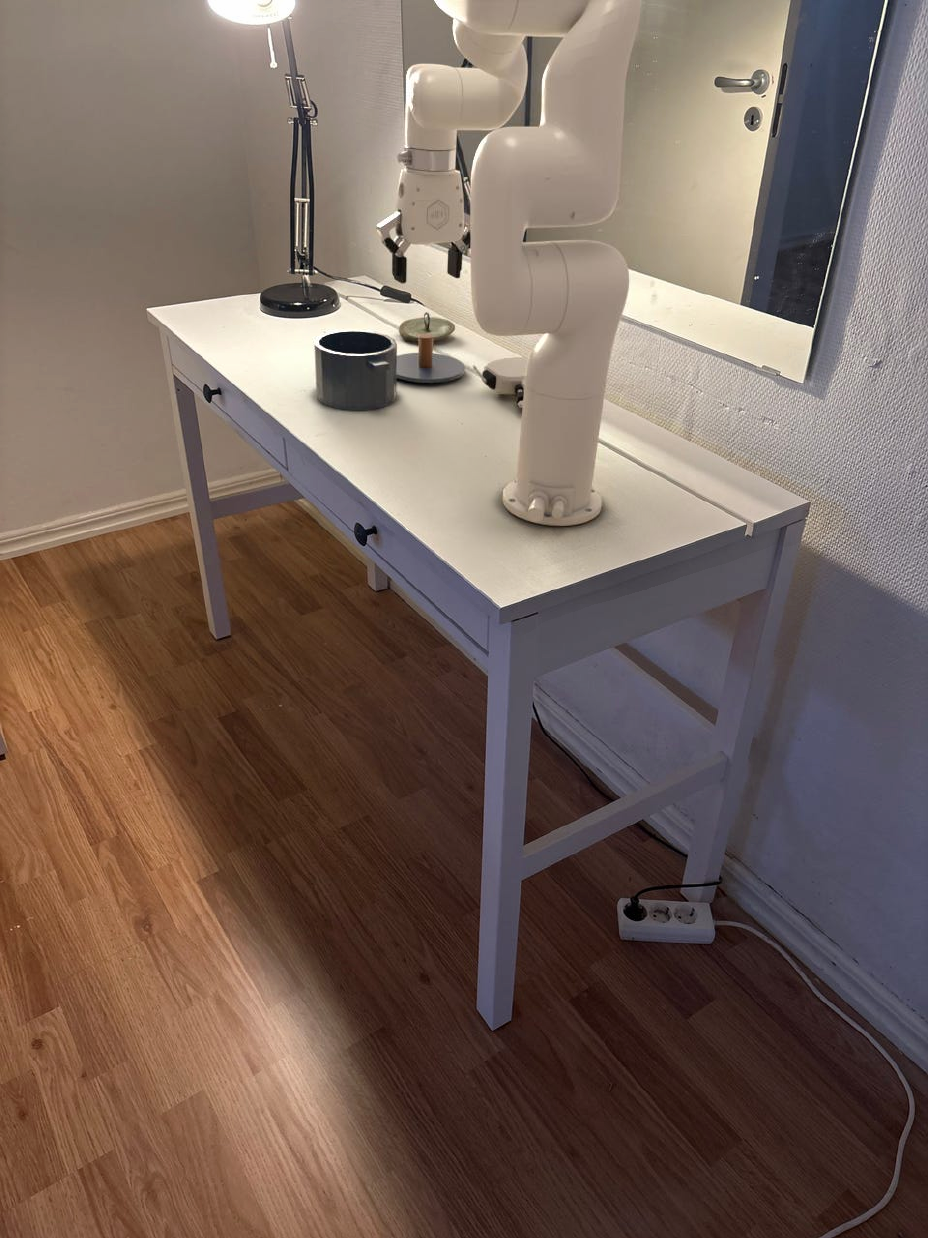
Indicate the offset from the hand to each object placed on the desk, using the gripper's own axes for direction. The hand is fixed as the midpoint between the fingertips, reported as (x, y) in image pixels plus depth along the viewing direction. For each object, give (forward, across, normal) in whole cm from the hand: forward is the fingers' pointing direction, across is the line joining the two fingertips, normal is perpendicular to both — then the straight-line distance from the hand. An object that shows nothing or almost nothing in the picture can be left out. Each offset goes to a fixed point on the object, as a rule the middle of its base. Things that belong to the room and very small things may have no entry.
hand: (427, 278), depth 147 cm
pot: (+15, -15, -6) cm, 22 cm away
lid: (+16, +9, +17) cm, 25 cm away
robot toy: (+15, +9, -17) cm, 25 cm away
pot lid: (+15, 0, 0) cm, 15 cm away
